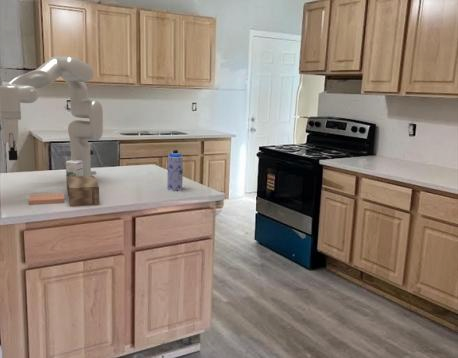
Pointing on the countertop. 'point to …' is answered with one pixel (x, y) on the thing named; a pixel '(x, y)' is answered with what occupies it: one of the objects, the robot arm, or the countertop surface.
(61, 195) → the panel
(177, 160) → the aerosol can
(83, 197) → the brown box
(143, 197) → the countertop surface
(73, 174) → the syrup box
